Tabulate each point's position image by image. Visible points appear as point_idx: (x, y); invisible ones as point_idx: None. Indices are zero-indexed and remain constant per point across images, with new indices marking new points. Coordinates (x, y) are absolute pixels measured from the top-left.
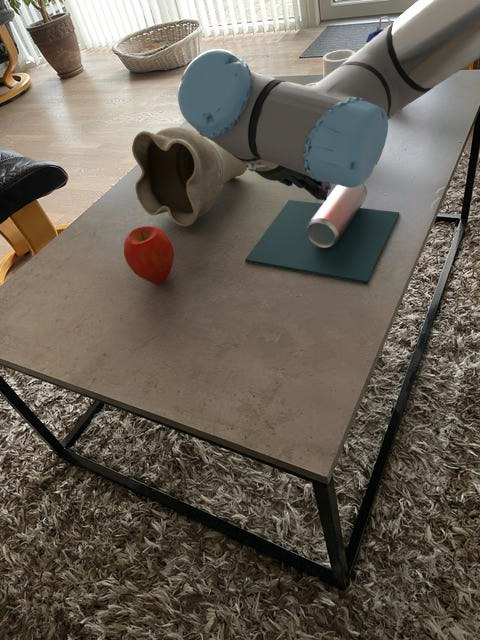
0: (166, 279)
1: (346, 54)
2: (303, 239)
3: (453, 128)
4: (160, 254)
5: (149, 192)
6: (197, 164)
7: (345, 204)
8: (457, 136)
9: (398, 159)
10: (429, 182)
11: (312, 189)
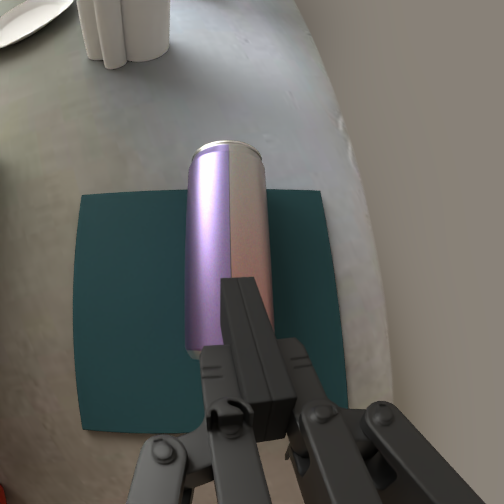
0: (4, 493)
1: None
2: (168, 333)
3: (287, 13)
4: None
5: None
6: None
7: (261, 252)
8: (300, 25)
9: (246, 57)
10: (318, 105)
11: (276, 439)
